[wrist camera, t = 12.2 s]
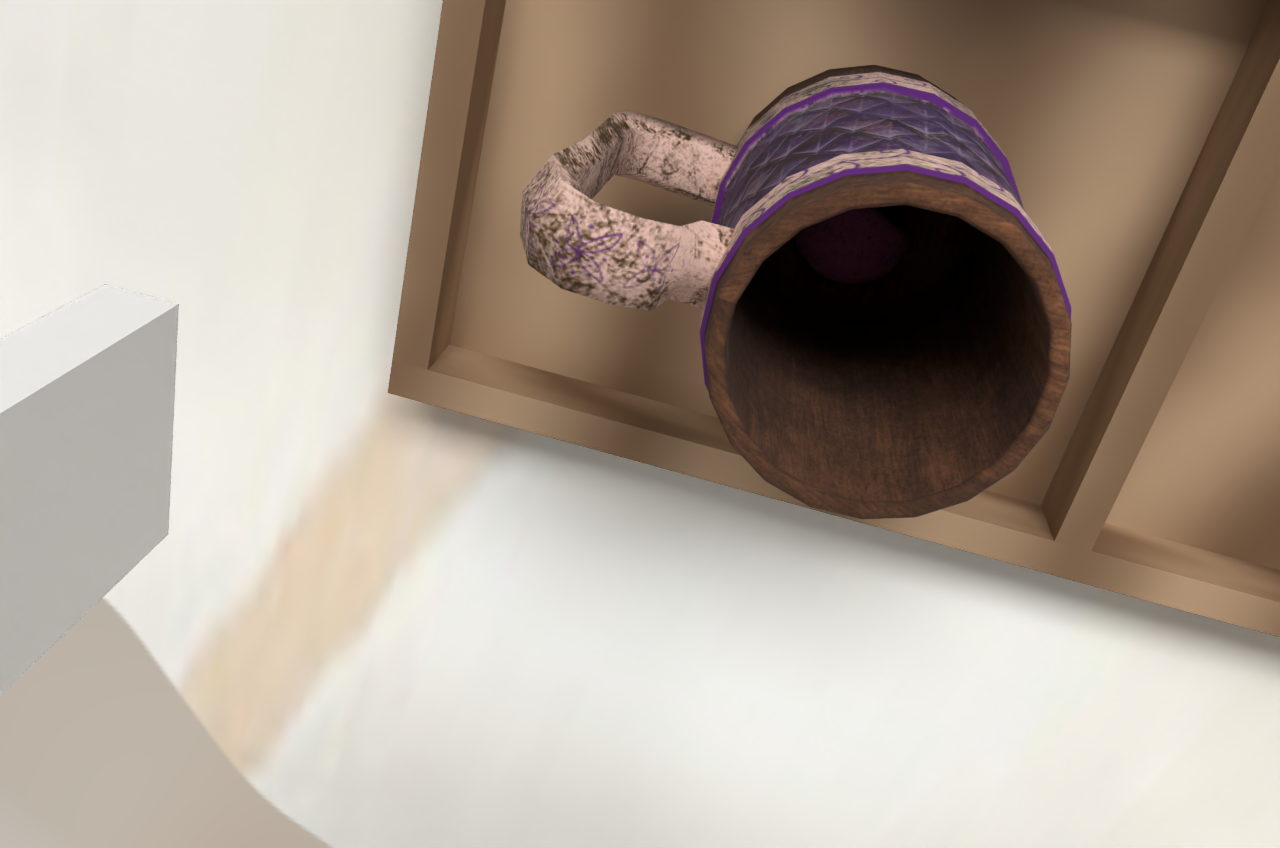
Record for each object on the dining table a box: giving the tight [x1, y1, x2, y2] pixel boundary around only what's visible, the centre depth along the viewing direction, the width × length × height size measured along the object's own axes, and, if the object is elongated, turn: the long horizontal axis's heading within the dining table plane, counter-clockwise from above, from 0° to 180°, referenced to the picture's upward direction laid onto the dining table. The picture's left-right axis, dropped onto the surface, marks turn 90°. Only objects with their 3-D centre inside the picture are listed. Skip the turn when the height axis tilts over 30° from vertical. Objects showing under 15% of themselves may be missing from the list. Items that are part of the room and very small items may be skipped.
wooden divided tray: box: [388, 0, 1280, 637], centre depth 28 cm, size 38×16×3 cm, turn 76°
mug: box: [520, 65, 1072, 519], centre depth 23 cm, size 10×7×12 cm
